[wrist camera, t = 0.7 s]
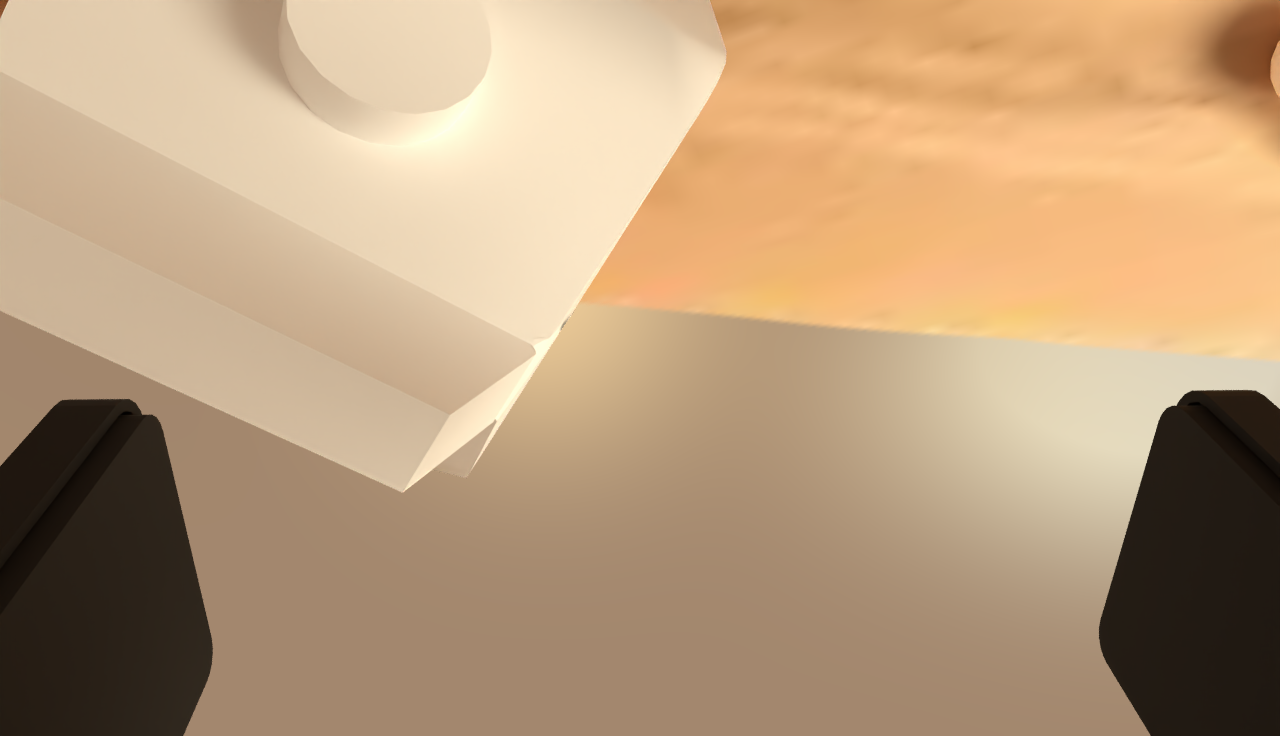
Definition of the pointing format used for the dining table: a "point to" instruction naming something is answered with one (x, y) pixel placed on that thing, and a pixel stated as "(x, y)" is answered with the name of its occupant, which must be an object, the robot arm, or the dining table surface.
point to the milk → (335, 197)
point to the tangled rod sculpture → (1276, 69)
